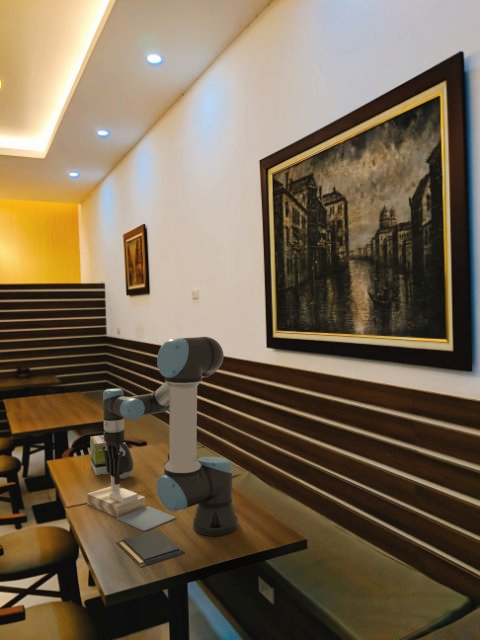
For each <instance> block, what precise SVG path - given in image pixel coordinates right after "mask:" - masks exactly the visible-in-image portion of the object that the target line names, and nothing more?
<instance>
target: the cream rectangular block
mask: <svg viewBox="0 0 480 640" xmlns="http://www.w3.org/2000/svg"><path fill="white" fill-rule="evenodd" d="M122 488H123V489H120V490H116V491H113V492H110V498H111V499H114V500H116V501H118V502H121V503H123V504H125V503H128V502H131V501H134V500H137V499H138V495H139V494H138V493H137V492H134V491H132V490H130V489H126V488H124V487H122Z"/></svg>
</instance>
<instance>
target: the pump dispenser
mask: <svg viewBox="0 0 480 640" xmlns="http://www.w3.org/2000/svg"><path fill="white" fill-rule="evenodd" d="M122 445H123V450H124V451H125V450H126V451H127V454H126V457H125V465H124V473H123V474H122V475H120V480H125V479H128V478H130V476H131V475H132V474H133V471H134V469H135V467H134V466H135V465H134V460H133V456H132V453H131V450H130V447H128V445H127V442H126V441H124V442H122Z"/></svg>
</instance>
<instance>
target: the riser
mask: <svg viewBox="0 0 480 640" xmlns="http://www.w3.org/2000/svg"><path fill="white" fill-rule="evenodd" d="M123 488H124V487H120V489H123ZM110 492H111V485H110V486H108V487H104V488H100V489H98V490H95V491H92V492H88V493H87V494H86V496H87V498H86V499H87V500H86V501H87V505H88V506H90V507H93V508H95V509H97V510H100V511H102V512H104V513H106V514H108V515H110V516H113V517H115V518H118V517H120V516H123V515H126V514H128V513H131V512H134V511H136V510H139V509H142V508H144V507H146V497H145V496H144V495H141V494H138V499H137V500H134V501H131V502H128V503H125V504H123V503H121V502H118V501H116V500H114V499H111V498H110Z"/></svg>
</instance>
